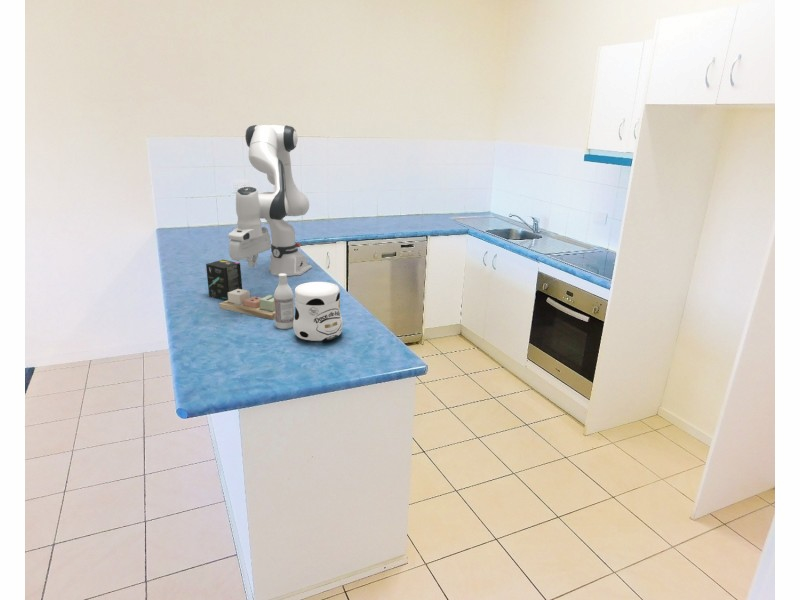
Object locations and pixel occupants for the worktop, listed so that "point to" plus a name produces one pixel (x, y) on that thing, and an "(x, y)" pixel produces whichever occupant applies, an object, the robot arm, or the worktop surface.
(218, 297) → the tampon box
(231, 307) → the board
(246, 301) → the toy block
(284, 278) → the bath foam
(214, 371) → the worktop surface
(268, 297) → the toy block
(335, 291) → the milk container
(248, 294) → the toy block
